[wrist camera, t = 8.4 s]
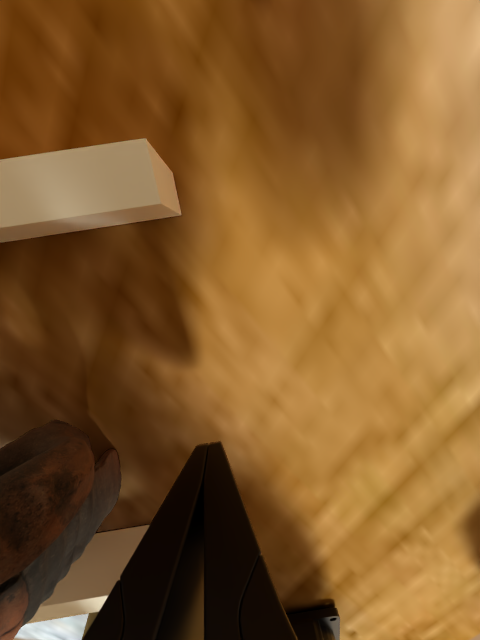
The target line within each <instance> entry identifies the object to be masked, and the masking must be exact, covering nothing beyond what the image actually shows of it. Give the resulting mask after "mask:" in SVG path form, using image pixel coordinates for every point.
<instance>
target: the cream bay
mask: <svg viewBox="0 0 480 640" xmlns="http://www.w3.org/2000/svg"><path fill="white" fill-rule="evenodd" d="M180 215H182V214H181V210H180V205H179V200H178V195H177V191H176V186H175V181H174V177H173V173H172V171H171V170H170V169H169V167H168V166H167V165H166V164H165V162H164V161H163V160H162V159H161V157H160V156H159V155H158V153H157V152H156V151H155V150H154V148H153V147H152V146H151V144H150V143H149V142H148V141H147V139H146V138H142V139H135V140H129V141H122V142H115V143H109V144H102V145H95V146H88V147H82V148H75V149H68V150H61V151H55V152H48V153H41V154H34V155H28V156H21V157H14V158H8V159H1V160H0V243H3V242H9V241H16V240H22V239H29V238H36V237H42V236H49V235H55V234H62V233H68V232H75V231H82V230H88V229H95V228H101V227H108V226H114V225H121V224H128V223H134V222H141V221H147V220H154V219H160V218H167V217H174V216H180ZM149 526H150V525H145V526H139V527H133V528H127V529H121V530H115V531H108V532H102V533H96V534H94V536H93V538H92V539H91V541H90V542H89V543H88V545H87V546H86V547H85V550H84V552H83V554H82V555H81V557H80V558H79V559H78V560H76V561H75V562H74V563H72V564H71V567H70V570H69V572H68V573H67V575H66V576H65V577H64V578H63V579H62V580H60V581H59V582H58V583H57V585H56V587H55V589H54V592H53V594H52V595H51V597H50V598H49V599H47V600H46V601H44V602H43V603H41V604H40V607H39V609H38V610H37V612H36V614H35V615H34V617H33V618H32V619H31V620H30V621H29V622H28V623H34V622H40V621H46V620H52V619H57V618H63V617H69V616H75V615H81V614H87V613H93V612H99V611H100V609H101V607H102V606H103V604H104V602H105V601H106V599H107V597H108V596H109V594H110V592H111V590H112V589H113V587H114V585H115V584H116V582H117V581H118V580H120V575H121V574H122V572H123V570H124V568H125V567H126V565H127V563H128V562H129V560H130V558H131V557H132V555H133V553H134V551H135V550H136V548H137V546H138V545H139V543H140V541H141V539H142V538H143V536H144V534H145V533H146V531H147V529H148V527H149ZM28 623H26V624H28Z"/></svg>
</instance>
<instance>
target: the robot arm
mask: <svg viewBox="0 0 480 640" xmlns="http://www.w3.org/2000/svg"><path fill="white" fill-rule="evenodd" d="M339 636H340V617H339V614H338V610H337V608H326V609H320V610H314V611H308V612H302V613H296V614H291V615H286V613H285V611H284V608H283V606H282V604H281V601H280V599H279V596H278V594H277V591H276V589H275V586H274V584H273V581H272V579H271V576H270V573H269V571H268V568H267V565H266V562H265V560H264V557H263V555H262V552H261V549H260V546H259V544H258V541H257V538H256V535H255V533H254V530H253V527H252V524H251V522H250V519H249V516H248V513H247V511H246V508H245V505H244V503H243V500H242V497H241V494H240V492H239V489H238V486H237V483H236V481H235V478H234V475H233V472H232V470H231V467H230V464H229V461H228V459H227V456H226V453H225V450H224V448H223V445H222V443H221V442H220V441H218V442H212V443H210V444H201V445H197V446H196V447H195V449H194V451H193V452H192V454H191V456H190V457H189V459H188V461H187V463H186V464H185V466H184V468H183V469H182V471H181V473H180V475H179V476H178V478H177V480H176V481H175V483H174V485H173V486H172V488H171V490H170V492H169V493H168V495H167V497H166V498H165V500H164V502H163V504H162V505H161V507H160V509H159V510H158V512H157V514H156V516H155V517H154V519H153V521H152V522H151V524H150V526H149V527H148V529H147V531H146V533H145V534H144V536H143V538H142V539H141V541H140V543H139V545H138V546H137V548H136V550H135V551H134V553H133V555H132V557H131V558H130V560H129V562H128V563H127V565H126V567H125V568H124V570H123V572H122V574H121V575H120V580H118V581H117V582H116V584H115V585H114V587H113V589H112V590H111V592H110V594H109V596H108V597H107V599H106V601H105V602H104V604H103V606H102V607H101V609H100V611H99V612H98V614H97V616H96V617H95V619H94V620H93V622H92V624H91V625H90V627H89V629H88V630H87V632H86V634H85V635H84V637H83V639H82V640H339Z"/></svg>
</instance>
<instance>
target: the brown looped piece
mask: <svg viewBox="0 0 480 640" xmlns="http://www.w3.org/2000/svg"><path fill="white" fill-rule="evenodd" d="M94 464H95V459H94V454H93V452H92V451H91V445H90V440H89V437H88V436H87V435H86V434H85V433H84V432H82V431H81V430H79V429H77V428H76V427H74V426H71V425H69V424H68V423H65V422H62V421H59V420H52V421H50V422H49V423H47V424H46V425H45V426H43V427H39V428H35V429H32V430H31V431H29V432H28V433H26V434H24V435H23V436H21V437H20V438H18V439H17V440H15V441H14V442H11V443H9V444H7V445H5V446H4V447H2V448H1V449H0V640H13V639H14V637H15V636H16V634H17V633H18V631H19V629H20V628H21V627H22V626H24V625H25V624H26V623H28V622H29V621H30V620H31V619H32V618H33V617H34V615H35V614H36V612H37V610H38V609H39V607H40V604H41V603H43V602H44V601H46V600H47V599H49V598H50V597H51V595H52V594H53V592H54V589H55V587H56V585H57V583H58V582H59V581H60V580H62V579H63V578H64V577H65V576H66V575H67V573H68V572H69V570H70V567H71V564H72V563H74V562H75V561H76V560H78V559H79V558H80V557H81V555H82V554H83V552H84V550H85V547H86V546H87V545H88V543H89V542H90V541H91V539H92V538H93V536H94V534H95V532H96V531H97V529H98V528H99V526H100V525H101V523H102V522H103V520H104V519H105V517H106V516H107V515H108V514H109V513H110V512H111V511H112V509H113V507H114V506H115V504H116V502H117V500H118V495H119V491H120V488H121V473H120V464H119V460H118V455H117V451H116V450H115V449H109V450H107V451H106V452H105V453H104V454H103V456H102V457H101V458H100V460H99V461H98V462H97V464H96V465H95V466H94Z"/></svg>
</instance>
